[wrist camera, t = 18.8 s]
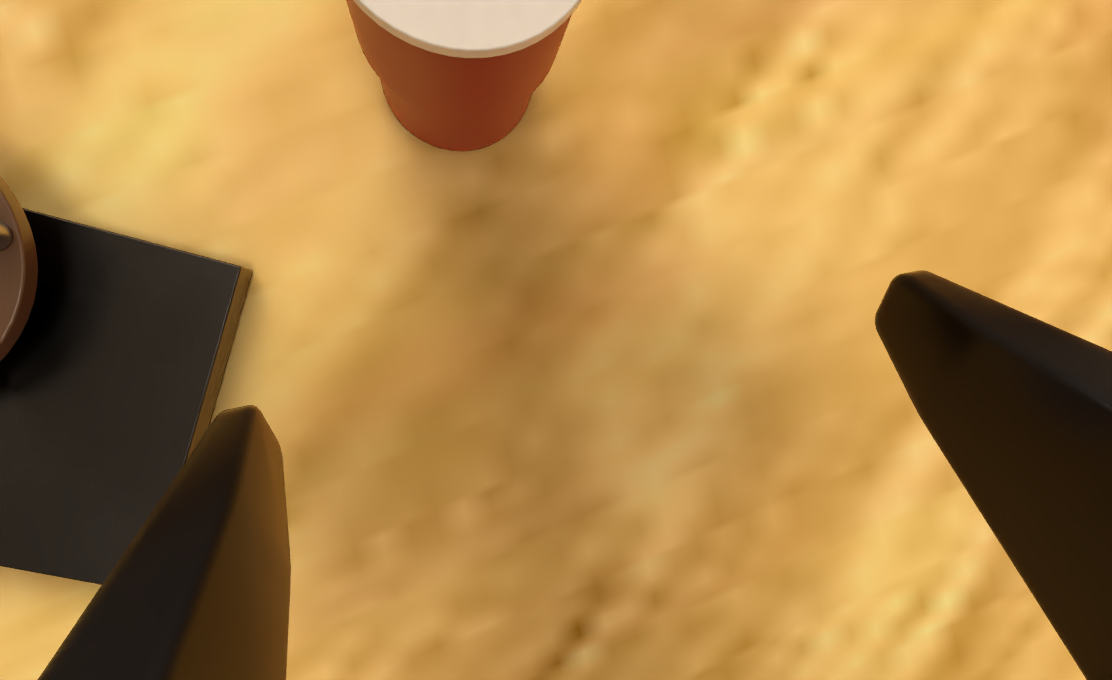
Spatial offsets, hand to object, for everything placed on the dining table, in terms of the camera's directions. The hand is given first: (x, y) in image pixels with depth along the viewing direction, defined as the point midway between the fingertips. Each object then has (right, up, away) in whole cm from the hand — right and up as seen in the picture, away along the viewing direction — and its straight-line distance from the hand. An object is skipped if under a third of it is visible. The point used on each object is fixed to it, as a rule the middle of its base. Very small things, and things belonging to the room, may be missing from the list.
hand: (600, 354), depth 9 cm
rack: (-16, -1, +10) cm, 20 cm away
